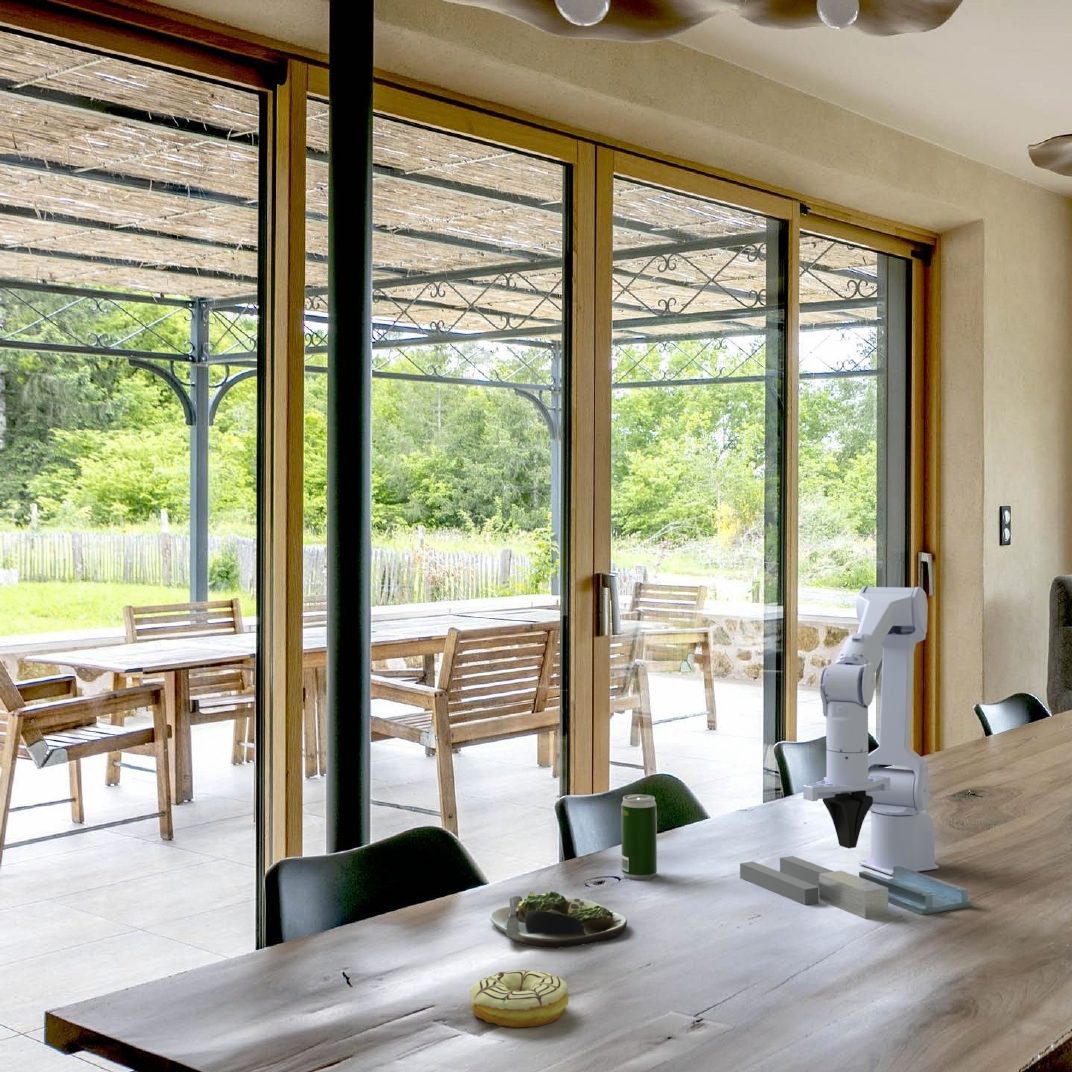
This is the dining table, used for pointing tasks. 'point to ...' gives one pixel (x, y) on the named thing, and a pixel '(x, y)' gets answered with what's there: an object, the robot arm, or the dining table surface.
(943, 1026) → the dining table surface
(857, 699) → the robot arm
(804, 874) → the grey bars
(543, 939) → the salad plate
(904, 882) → the cradle
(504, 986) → the decorated donut
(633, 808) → the beer can
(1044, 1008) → the dining table surface
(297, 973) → the dining table surface
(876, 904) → the rectangular block
